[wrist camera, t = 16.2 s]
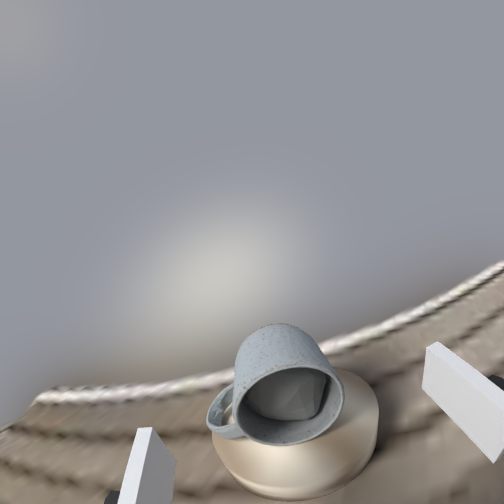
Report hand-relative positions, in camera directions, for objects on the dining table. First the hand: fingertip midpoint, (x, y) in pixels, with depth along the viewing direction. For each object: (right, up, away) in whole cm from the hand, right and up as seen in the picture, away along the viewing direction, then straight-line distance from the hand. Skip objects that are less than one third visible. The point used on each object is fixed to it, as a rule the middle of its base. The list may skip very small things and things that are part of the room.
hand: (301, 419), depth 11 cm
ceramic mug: (0, -7, +10) cm, 12 cm away
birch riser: (+2, -10, +10) cm, 14 cm away
